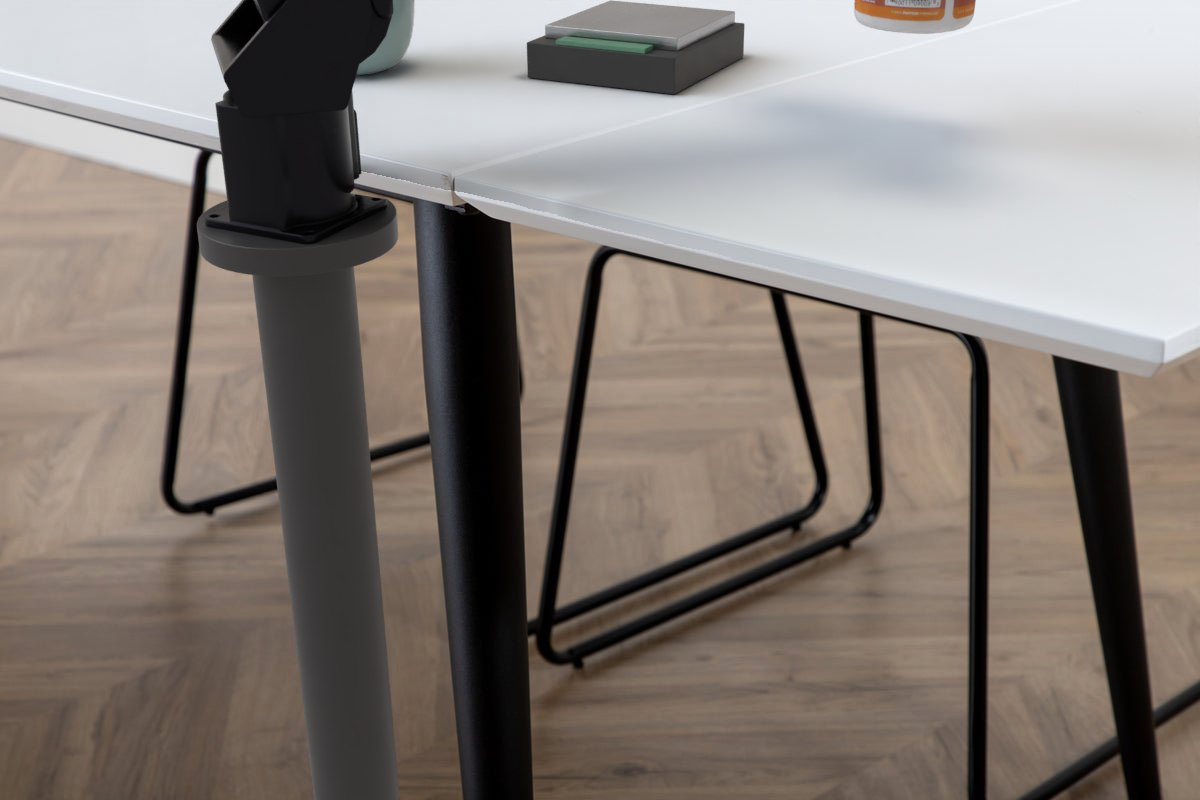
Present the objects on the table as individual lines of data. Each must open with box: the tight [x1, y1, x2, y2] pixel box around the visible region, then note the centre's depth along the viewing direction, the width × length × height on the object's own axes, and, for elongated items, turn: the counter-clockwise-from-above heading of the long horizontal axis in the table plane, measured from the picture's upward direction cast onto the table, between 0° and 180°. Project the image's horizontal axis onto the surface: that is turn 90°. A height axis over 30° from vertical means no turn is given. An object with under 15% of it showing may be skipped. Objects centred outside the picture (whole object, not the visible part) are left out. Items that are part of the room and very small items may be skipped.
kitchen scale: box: [526, 0, 745, 95], centre depth 92 cm, size 11×10×3 cm
